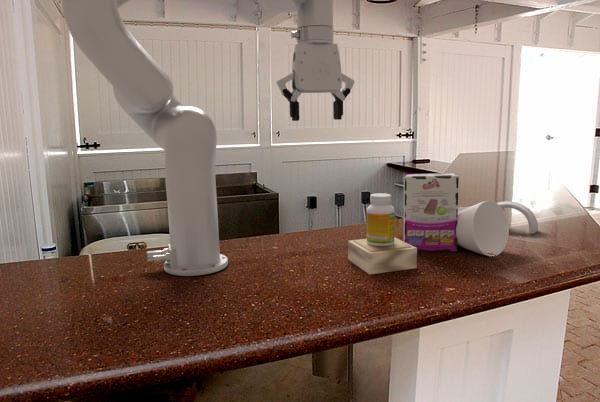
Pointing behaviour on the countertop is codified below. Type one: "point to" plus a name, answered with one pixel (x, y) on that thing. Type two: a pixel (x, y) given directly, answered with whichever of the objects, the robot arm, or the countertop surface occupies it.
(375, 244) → the supplement bottle
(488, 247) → the rocket engine
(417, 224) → the candy bar box
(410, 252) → the plinth
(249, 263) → the countertop surface
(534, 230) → the spoon rest
